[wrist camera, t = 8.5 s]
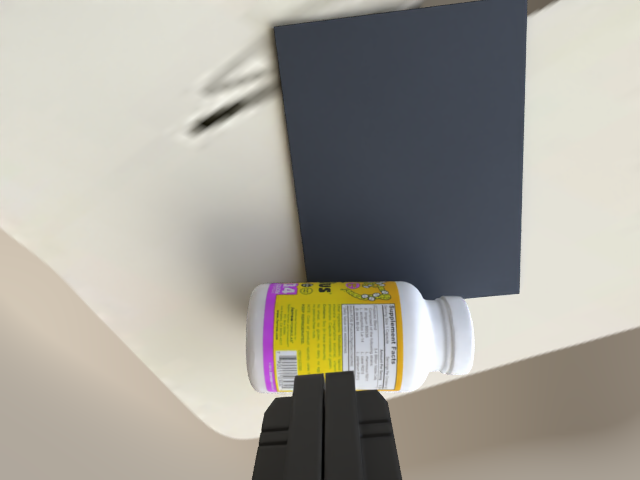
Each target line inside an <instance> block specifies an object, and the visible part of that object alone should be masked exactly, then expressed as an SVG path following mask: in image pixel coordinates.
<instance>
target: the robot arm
mask: <svg viewBox="0 0 640 480" xmlns="http://www.w3.org/2000/svg"><path fill="white" fill-rule="evenodd" d="M261 430H262V433H261V434H260V439H259V447H258V450H257V455H256V460H255V466H254V471H253V476H252V480H402V477H401V471H400V466H399V460H398V455H397V450H396V444H395V439H394V434H393V429H392V423H391V418H390V412H389V407H388V402H387V401H386V400H385V399H384V397H383V396H382V395H381V394H380V393H379V392H378V390H377V389H374V390H362V391H356V388H355V379H354V370H353V371H341V372H329V373H325V378H324V373H319V374H308V375H296V376H295V378H294V387H293V396H292V397H280V398H275V399H274V401H273V402H272V403H271V405H270V406H269V407H268V409H267V410H266V412H265V413H264V418H263V424H262V429H261Z"/></svg>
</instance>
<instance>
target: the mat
mask: <svg viewBox="0 0 640 480" xmlns="http://www.w3.org/2000/svg"><path fill="white" fill-rule="evenodd" d="M526 31H527V0H481V1H472V2H465V3H457V4H450V5H441V6H434V7H425V8H417V9H409V10H401V11H393V12H386V13H378V14H370V15H362V16H354V17H346V18H338V19H331V20H323V21H315V22H307V23H299V24H291V25H283V26H276V27H274V33H275V41H276V48H277V56H278V64H279V71H280V79H281V86H282V94H283V101H284V109H285V116H286V124H287V131H288V139H289V147H290V154H291V162H292V169H293V177H294V184H295V192H296V199H297V207H298V214H299V222H300V230H301V237H302V245H303V252H304V260H305V267H306V275H307V282H386V281H402V282H407V283H410V284H412V285H413V286H414V287H416V288H417V289H418V291H419V292H420V294H421V295H422V297H423V299H425V300H435V299H436V298H440V297H441V296H460V297H462V298H463V299H466V298H477V297H488V296H499V295H509V294H519V288H520V251H521V214H522V178H523V141H524V104H525V68H526Z"/></svg>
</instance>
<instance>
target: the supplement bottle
mask: <svg viewBox="0 0 640 480" xmlns="http://www.w3.org/2000/svg"><path fill="white" fill-rule="evenodd" d="M473 356H474V333H473V325H472V320H471V315H470V312H469V308H468V306H467V304H466V302H465V300H464V299H463V298H462V297H460V296H441V297H440V298H436V299H435V300H425V299H423V297H422V295H421V294H420V292H419V291H418V289H417V288H416V287H414V286H413V285H412V284H410V283H407V282H402V281H386V282H308V283H269V284H261V285H259V286H257V287H256V288H255V289H254V291H253V292H252V295H251V298H250V301H249V306H248V312H247V324H246V361H247V370H248V376H249V380H250V383H251V385H252V387H253V388H254V389H255V390H256V391H257V392H259V393H293V387H294V378H295V376H296V375H308V374H319V373H324V378H325V373H329V372H341V371H353V370H354V379H355V388H356V391H362V390H374V389H377V390H378V392H410V391H413V390H415V389H417V388H419V387H420V386H421V385H422V383H423V382H424V381H425V379H426V377H427V374H428V372H431V371H440V372H441V373H446V374H447V375H456V374H467V373H468V372H469V371H470V369H471V367H472V363H473Z"/></svg>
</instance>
